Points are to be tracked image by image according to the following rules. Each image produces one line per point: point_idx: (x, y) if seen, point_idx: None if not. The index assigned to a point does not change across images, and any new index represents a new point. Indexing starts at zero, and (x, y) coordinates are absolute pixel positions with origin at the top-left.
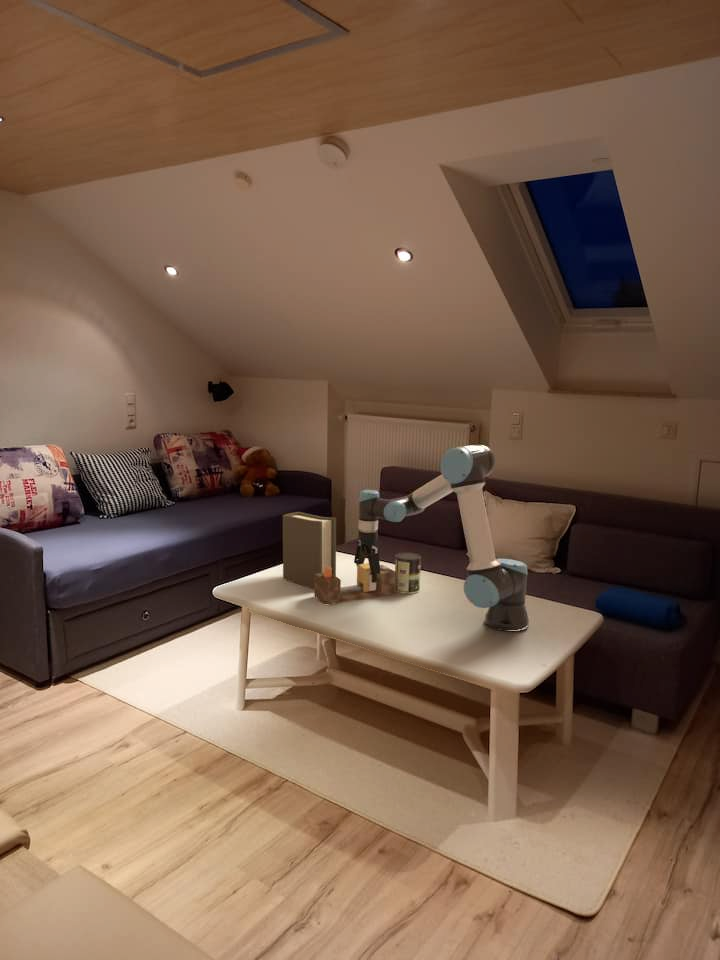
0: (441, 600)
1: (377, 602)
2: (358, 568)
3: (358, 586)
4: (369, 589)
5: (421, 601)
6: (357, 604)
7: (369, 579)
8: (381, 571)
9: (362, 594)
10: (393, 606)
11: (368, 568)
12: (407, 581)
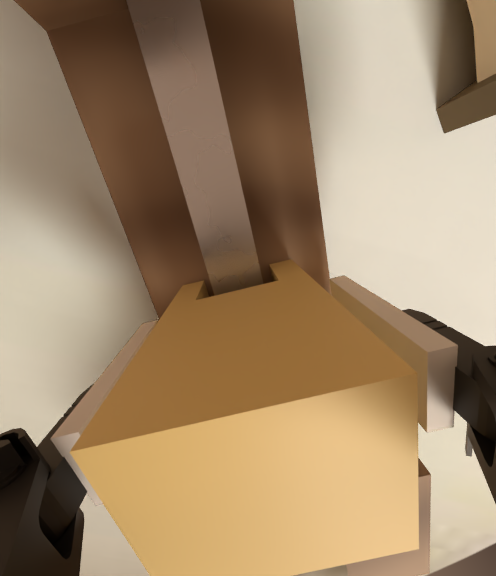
0: (109, 561)
1: (82, 326)
2: (335, 340)
3: (218, 258)
4: (145, 325)
5: (98, 505)
6: (38, 192)
7: (112, 376)
8: None
9: (153, 263)
10: (18, 389)
11: (106, 504)
12: None
